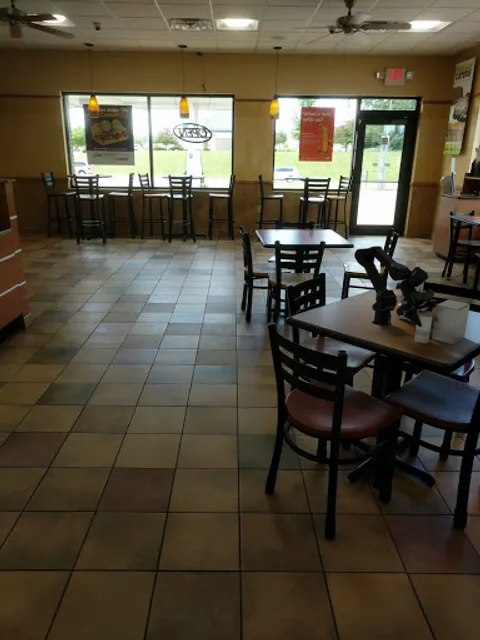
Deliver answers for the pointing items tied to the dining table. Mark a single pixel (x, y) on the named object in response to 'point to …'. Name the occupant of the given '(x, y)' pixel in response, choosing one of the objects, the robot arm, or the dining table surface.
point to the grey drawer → (430, 329)
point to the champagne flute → (409, 266)
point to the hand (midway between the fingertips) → (426, 325)
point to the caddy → (450, 321)
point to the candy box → (406, 302)
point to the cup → (423, 327)
